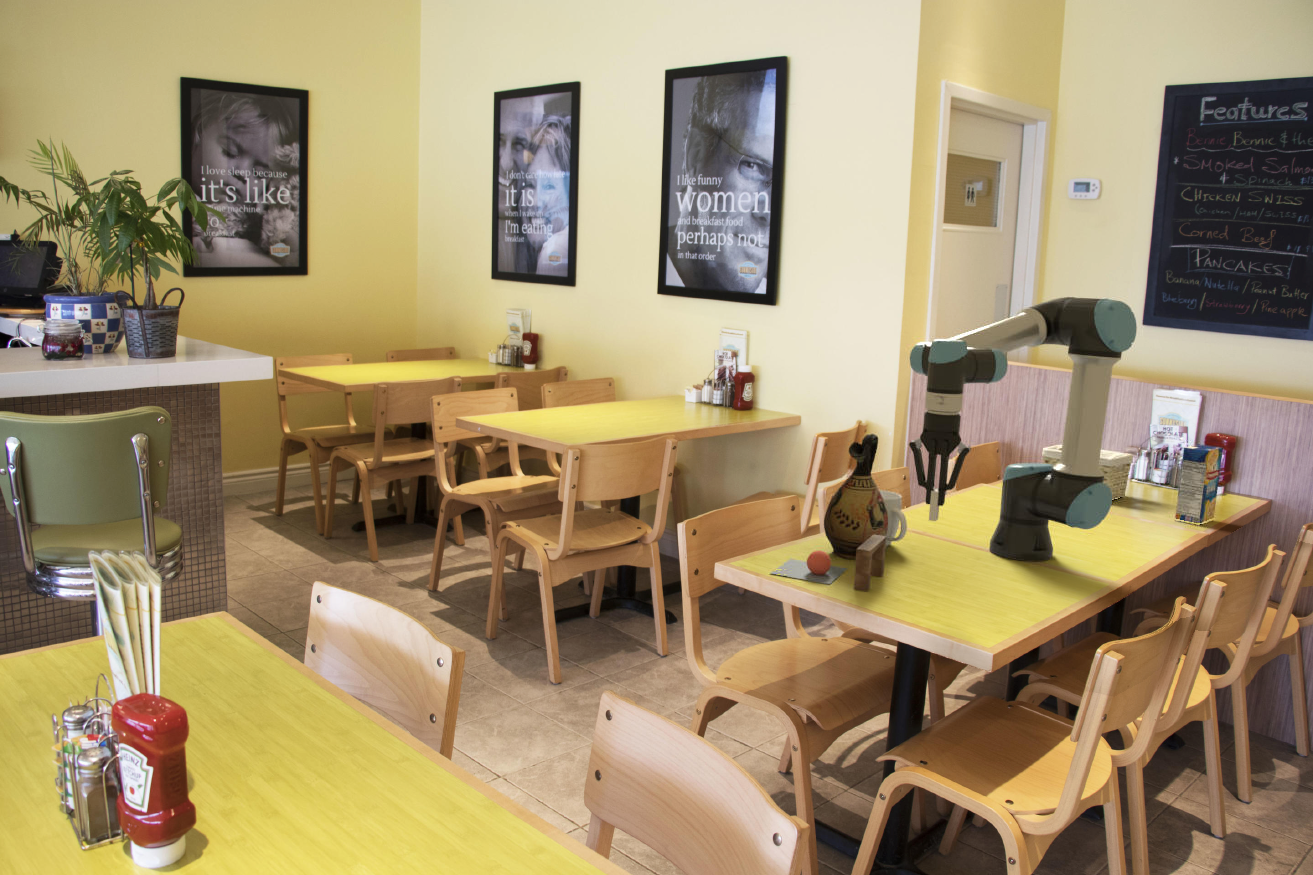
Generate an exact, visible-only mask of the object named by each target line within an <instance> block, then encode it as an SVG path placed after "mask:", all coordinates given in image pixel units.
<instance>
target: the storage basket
mask: <svg viewBox="0 0 1313 875" xmlns="http://www.w3.org/2000/svg"><path fill="white" fill-rule="evenodd" d="M1061 451H1062V444H1057V445H1051V446H1046V447H1043V448H1042V453H1041V455H1042V456H1041V457H1042V460H1043V463H1044V464H1051V465H1053V466H1055V465H1056V464H1057V463H1059V462H1060V458H1061ZM1133 463H1134V455H1133V454H1132V453H1125V452H1124V453H1123V452H1121V451H1113V450H1106V449H1101V452H1100V459H1099V468H1100V469H1101V470H1102V471H1103V473H1104V481H1103V483H1104V484H1106V485H1107V486H1109V488H1110V489H1111V491H1110V492H1112V499H1115V498H1119V497H1123V498H1124V497H1125V495H1126V489H1127V487H1128V481H1129V480H1128V479H1129V475H1130V470H1131V466H1132V464H1133Z"/></svg>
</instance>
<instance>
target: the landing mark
mask: <svg viewBox="0 0 1313 875" xmlns="http://www.w3.org/2000/svg"><path fill="white" fill-rule="evenodd" d="M783 564H784V565H783ZM783 564H781V565H780V566H778V567H777V568H776V569H782V570H780V571H779V570H776V569H775V570H776V571H774V570H773V571H771V572H770V573H769V575H771V574H781V576H780V577H783V575H784V574H786V575H784V576H787V577H786V578H788V577H791V578H790V579H794V578H795V579H796V580H800V579H803V580H802V581H806V580H809V581H808V582H811V581H813V582H812V583H816V584H817V583H818V584H823V585H829V586H830V585H831V584H832V583H834V581H836V580H837V579H838V578H839V577H840V576H841V575H843V573H845V572H846V571H847V570H848V568H847V567H841V566H834V565H831V567H830V569H829V570H828V571H827V572H826V573H825V574H822V575H816V574H814V573H812V572H811V571H810V570H809V569H808V567H807V560H805V561H804V560H798V559H793V558H790V559H788V560H787V561H785V562H784V563H783ZM782 565H783V566H782ZM784 569H785V570H784ZM846 569H847V570H846ZM845 570H846V571H845ZM778 571H779V572H778ZM844 571H845V572H844ZM795 579H794V580H795ZM835 579H836V580H835Z"/></svg>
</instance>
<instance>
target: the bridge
mask: <svg viewBox="0 0 1313 875" xmlns="http://www.w3.org/2000/svg"><path fill="white" fill-rule="evenodd" d="M886 548H887V546H886V536H881V535H874V534H873V535H872V536H871V537H870V538H869V539H868V540H866V541H865V542H864V543H863V544H862V545H861V546H859V547H858V548H857V551H856V559H855V567H854V580H853V590H856V591H861V592H869V590H870V587H871V576H872V577H877V576H878V577H879V578H882V577H883V576H884V574H885V573H884V570H885V569H884V568H885V560H886V559H885V558H886V557H885V556H886Z"/></svg>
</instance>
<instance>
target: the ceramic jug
mask: <svg viewBox="0 0 1313 875" xmlns="http://www.w3.org/2000/svg"><path fill="white" fill-rule="evenodd" d="M878 445H879V437H878V436H877V435H876V434H874V433H871V434H866V435H865V436H864V437H863V438H862V441H861V444H860V442H857V441H856V442H855V441H854V442H853V443H851V444H850V446H849V448H848V454H849V455H850V457H852V458H853V459H854V460H855V461H856V466H855V467H854V469H853V472H852V473H851V474H850V476H848V477H847V478H846V479H845V481H844V482H843V483H842V485H840V487H839V488H838V489H837V490H836V491H835V493H834V495H833V496H832V498H831V499H830V500H829V503H828V506H827V507H826V508H827V509H826V511H825V514H824V517H823V518H824V519H823V529H824V533H825V537H826V538H827V540H828V541H829V543H830V545H831V548H832V552H831V553H832V554H833V555H835V556H836V555H837V556H836V557H838V556H839V557H838V558H841V557H842V558H841V559H850V560H856V551H857V548H858V547H859V546H861V545H862V544H863V543H864V542H865V541H866V540H868V539H869V538H870V537H871V536H872V535H873V534H874V535H881V536H886V534H887V530H888V513H887V509H886V505H885V502H884V500H883V498H882V496H881V493H880V492H879V490H880V489H879V487H878V486H877V483H876V482H875V480H874V479H873V477H872V470H873V465H874V462H875V459H876V454H877V450H878Z"/></svg>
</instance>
